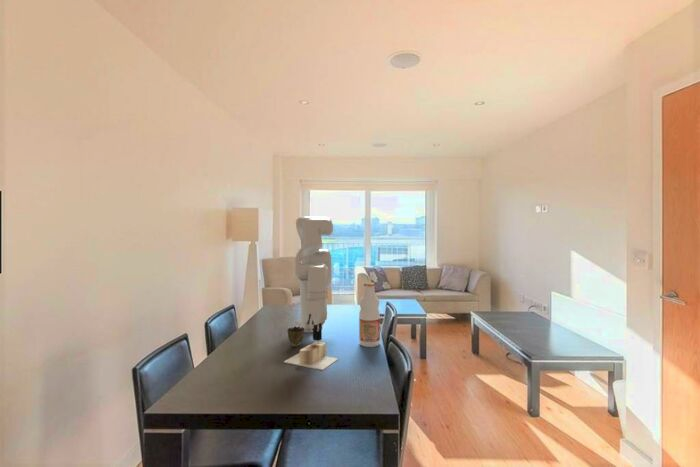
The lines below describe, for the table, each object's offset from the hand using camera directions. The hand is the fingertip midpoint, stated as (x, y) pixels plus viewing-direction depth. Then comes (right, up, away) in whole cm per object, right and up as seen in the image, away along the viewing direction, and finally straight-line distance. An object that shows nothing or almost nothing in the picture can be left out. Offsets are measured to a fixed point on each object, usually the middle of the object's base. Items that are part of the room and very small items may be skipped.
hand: (317, 339), depth 141 cm
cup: (-11, -7, +14) cm, 19 cm away
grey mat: (-2, -7, -4) cm, 8 cm away
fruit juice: (+22, -7, +16) cm, 29 cm away
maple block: (+1, -4, +3) cm, 5 cm away
